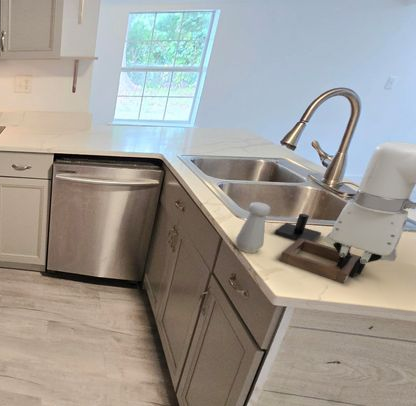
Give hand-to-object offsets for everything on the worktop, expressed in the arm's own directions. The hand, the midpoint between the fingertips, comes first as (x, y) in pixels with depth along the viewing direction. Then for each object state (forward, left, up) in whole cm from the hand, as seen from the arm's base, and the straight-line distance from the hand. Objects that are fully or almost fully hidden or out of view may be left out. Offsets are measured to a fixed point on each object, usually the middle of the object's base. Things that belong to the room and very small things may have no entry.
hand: (347, 272), depth 85 cm
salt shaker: (+18, +6, 0) cm, 19 cm away
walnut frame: (+5, 0, 0) cm, 5 cm away
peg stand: (+13, -13, 0) cm, 19 cm away
